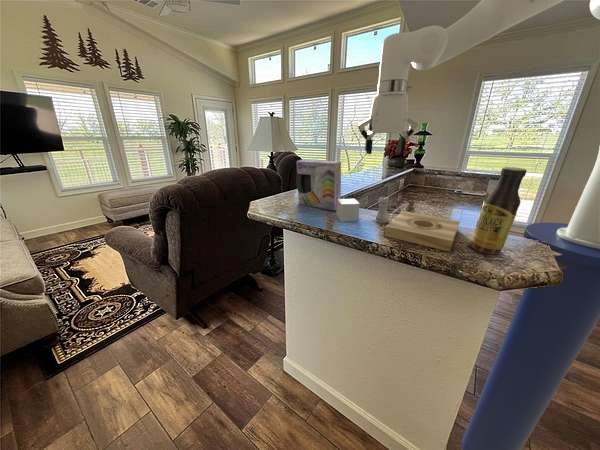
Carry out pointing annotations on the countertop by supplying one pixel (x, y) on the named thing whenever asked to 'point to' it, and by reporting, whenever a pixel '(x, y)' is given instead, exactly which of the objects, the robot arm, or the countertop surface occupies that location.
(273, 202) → the countertop surface
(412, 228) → the wooden block
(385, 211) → the rook chess piece
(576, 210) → the robot arm
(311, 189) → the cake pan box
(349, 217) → the white cube
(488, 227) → the sauce bottle
